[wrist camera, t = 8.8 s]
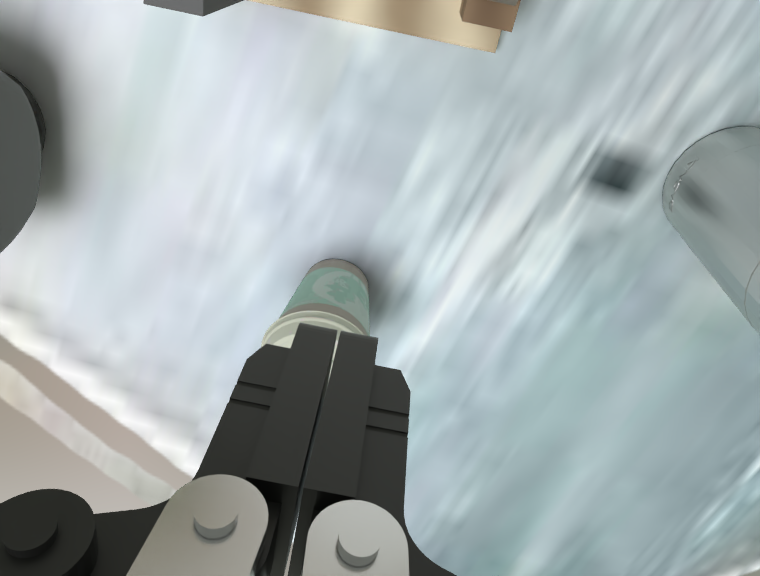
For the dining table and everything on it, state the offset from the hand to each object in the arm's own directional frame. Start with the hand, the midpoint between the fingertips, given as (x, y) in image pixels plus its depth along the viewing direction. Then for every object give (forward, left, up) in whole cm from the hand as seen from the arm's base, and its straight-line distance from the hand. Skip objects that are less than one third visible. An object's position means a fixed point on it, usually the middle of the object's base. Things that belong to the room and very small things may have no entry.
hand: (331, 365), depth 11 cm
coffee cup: (+2, +21, -35) cm, 41 cm away
